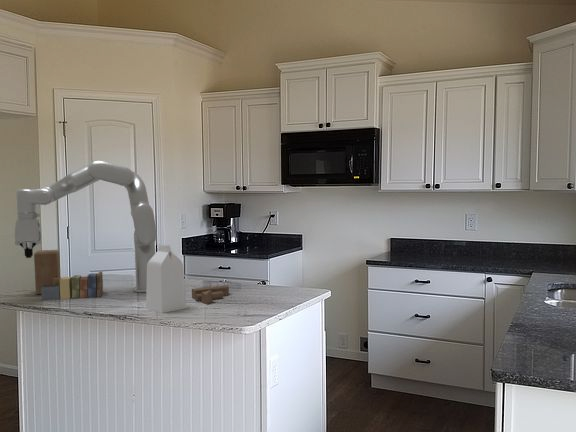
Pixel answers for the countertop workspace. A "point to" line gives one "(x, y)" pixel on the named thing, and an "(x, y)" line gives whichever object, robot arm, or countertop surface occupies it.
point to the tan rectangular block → (65, 287)
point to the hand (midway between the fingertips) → (28, 257)
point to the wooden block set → (209, 293)
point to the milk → (165, 282)
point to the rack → (85, 285)
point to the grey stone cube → (50, 292)
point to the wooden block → (46, 268)
